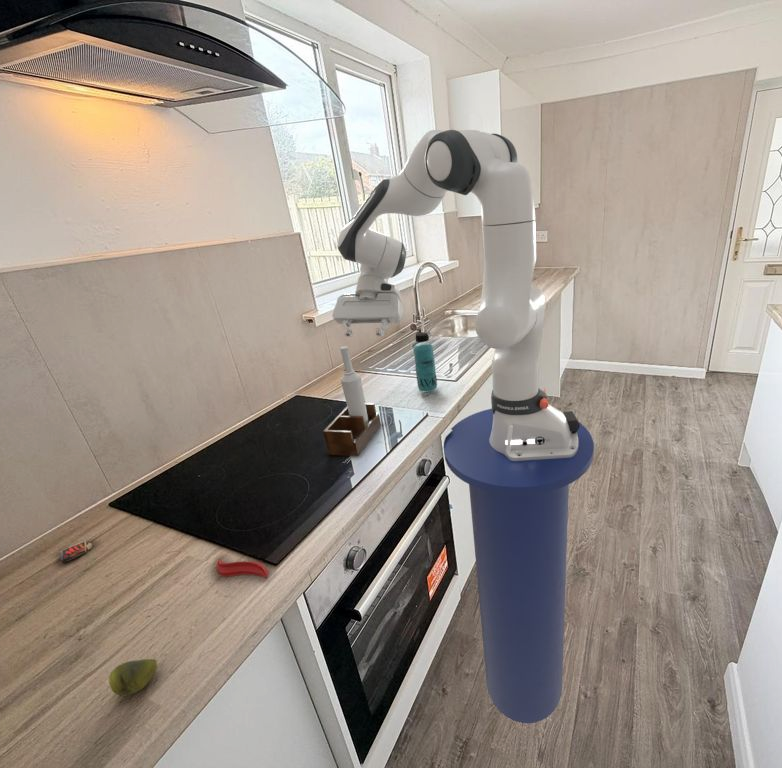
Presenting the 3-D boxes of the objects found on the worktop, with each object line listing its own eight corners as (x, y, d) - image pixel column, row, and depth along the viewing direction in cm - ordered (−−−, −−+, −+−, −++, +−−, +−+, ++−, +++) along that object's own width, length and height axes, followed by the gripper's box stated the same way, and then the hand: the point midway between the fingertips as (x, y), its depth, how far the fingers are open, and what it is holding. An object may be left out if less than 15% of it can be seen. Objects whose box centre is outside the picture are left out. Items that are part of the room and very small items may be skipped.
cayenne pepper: (208, 568, 74) (204, 560, 73) (231, 550, 78) (228, 542, 77) (250, 592, 69) (247, 584, 68) (274, 571, 72) (271, 563, 72)
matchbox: (65, 564, 78) (64, 562, 77) (56, 554, 80) (55, 552, 80) (95, 548, 81) (94, 546, 81) (86, 538, 84) (85, 536, 84)
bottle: (375, 429, 115) (358, 345, 105) (361, 438, 112) (343, 351, 101) (362, 425, 118) (345, 343, 108) (348, 434, 114) (329, 349, 104)
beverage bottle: (414, 392, 136) (406, 334, 128) (430, 385, 140) (423, 329, 132) (426, 398, 132) (418, 338, 123) (442, 391, 135) (436, 332, 127)
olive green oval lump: (113, 693, 56) (97, 670, 53) (152, 661, 59) (138, 638, 57) (128, 711, 53) (111, 688, 51) (168, 676, 57) (154, 653, 55)
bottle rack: (381, 425, 118) (377, 403, 115) (358, 456, 104) (353, 432, 101) (354, 424, 119) (350, 402, 117) (328, 454, 106) (322, 431, 103)
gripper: (333, 288, 119) (324, 330, 115) (400, 285, 115) (393, 329, 110) (343, 299, 125) (335, 340, 120) (407, 297, 121) (401, 340, 116)
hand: (363, 335), depth 115 cm, fingers open, 8 cm apart
